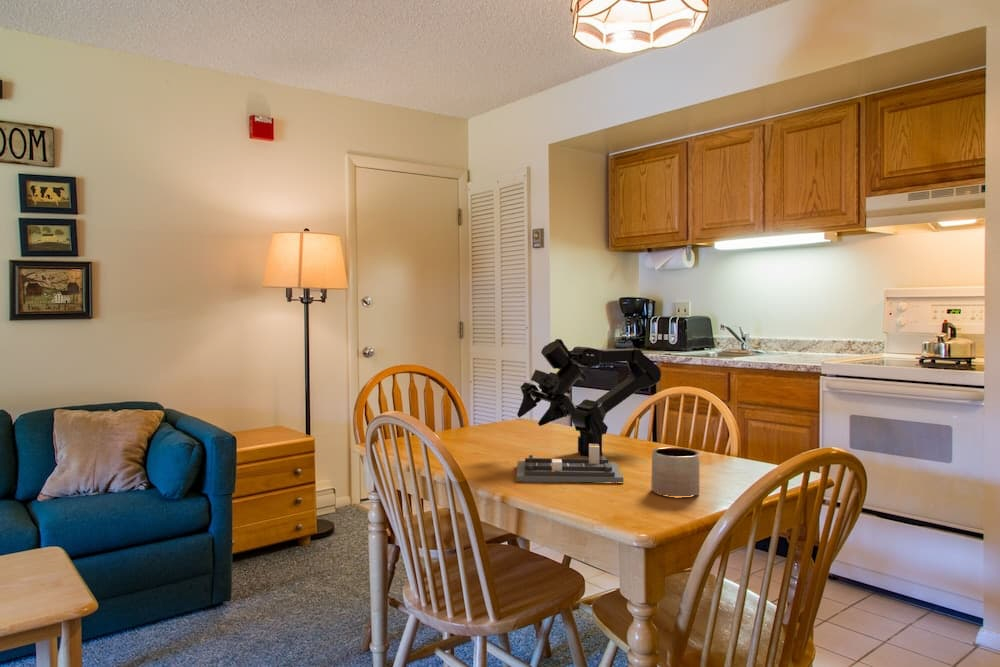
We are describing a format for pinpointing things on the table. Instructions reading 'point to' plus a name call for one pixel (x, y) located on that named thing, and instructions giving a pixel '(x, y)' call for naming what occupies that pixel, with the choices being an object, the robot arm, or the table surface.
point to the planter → (675, 471)
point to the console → (567, 470)
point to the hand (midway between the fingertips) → (528, 420)
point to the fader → (594, 454)
